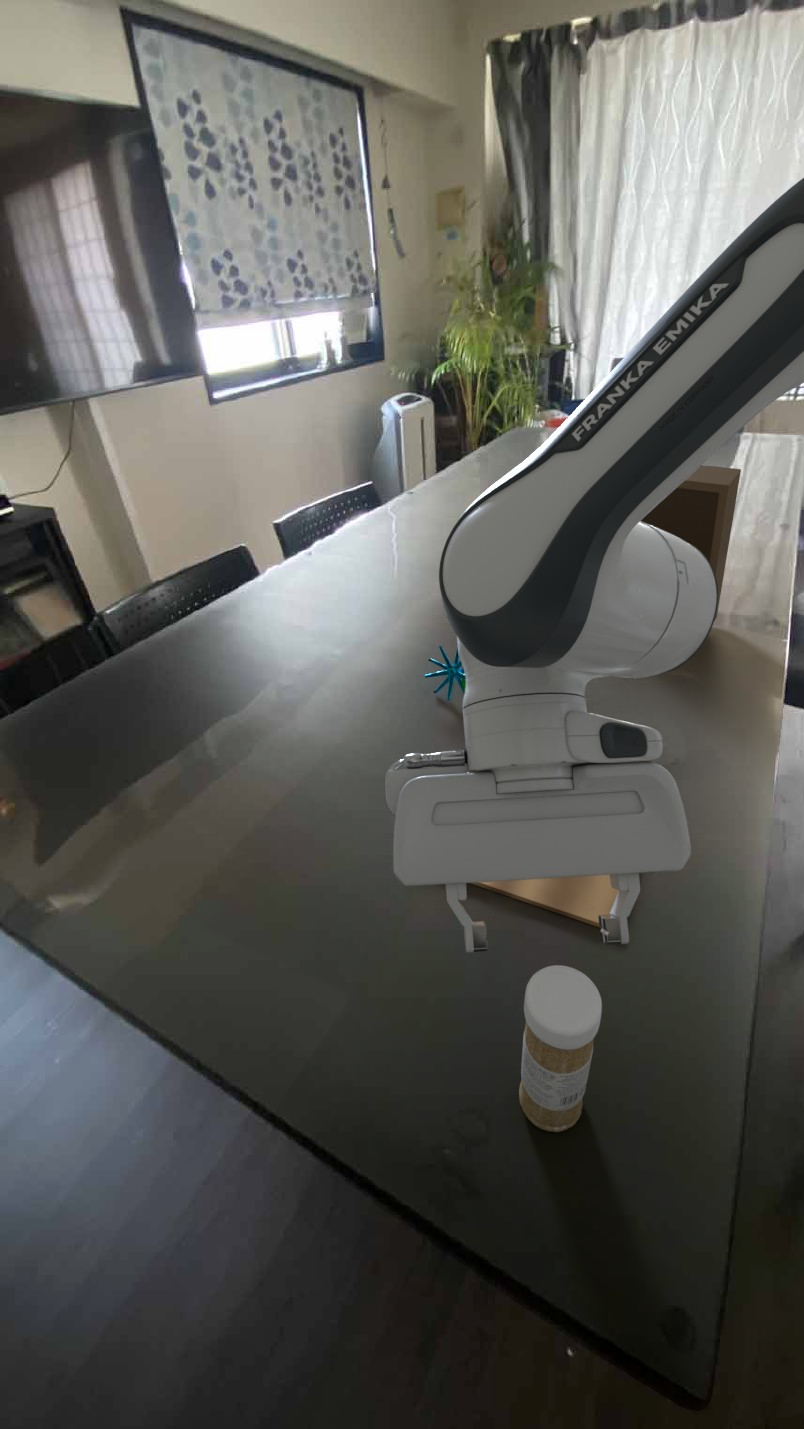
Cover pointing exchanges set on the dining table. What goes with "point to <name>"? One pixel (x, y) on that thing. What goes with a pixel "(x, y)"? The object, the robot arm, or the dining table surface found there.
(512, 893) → the wooden board
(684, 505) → the photo frame
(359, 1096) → the dining table surface
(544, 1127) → the sprinkles bottle
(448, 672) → the stick construction toy
